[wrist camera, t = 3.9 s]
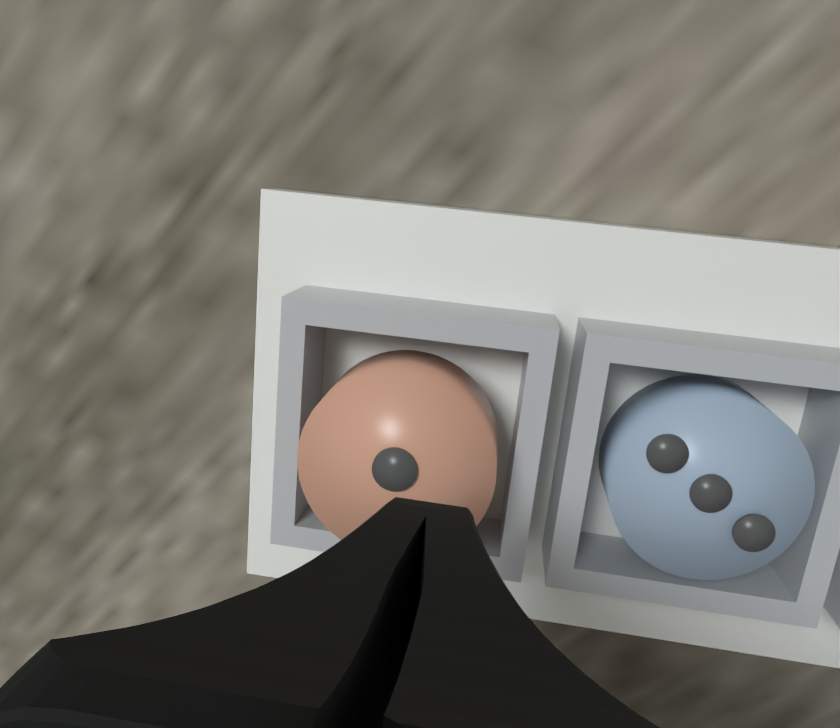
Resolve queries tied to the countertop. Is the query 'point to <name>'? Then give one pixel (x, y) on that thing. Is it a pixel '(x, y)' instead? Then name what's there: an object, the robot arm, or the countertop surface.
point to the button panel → (557, 391)
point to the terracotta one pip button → (398, 440)
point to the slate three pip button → (704, 478)
